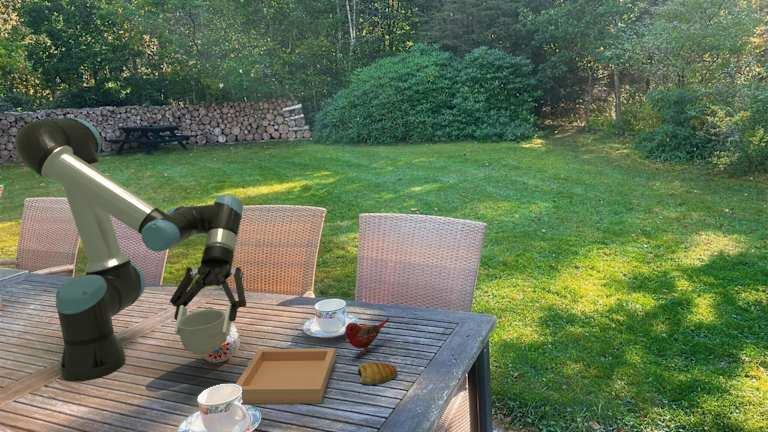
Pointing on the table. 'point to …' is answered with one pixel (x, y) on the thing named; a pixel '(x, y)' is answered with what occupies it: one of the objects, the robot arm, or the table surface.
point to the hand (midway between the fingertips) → (201, 333)
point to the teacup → (202, 330)
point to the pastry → (376, 373)
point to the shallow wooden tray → (287, 375)
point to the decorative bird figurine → (362, 334)
